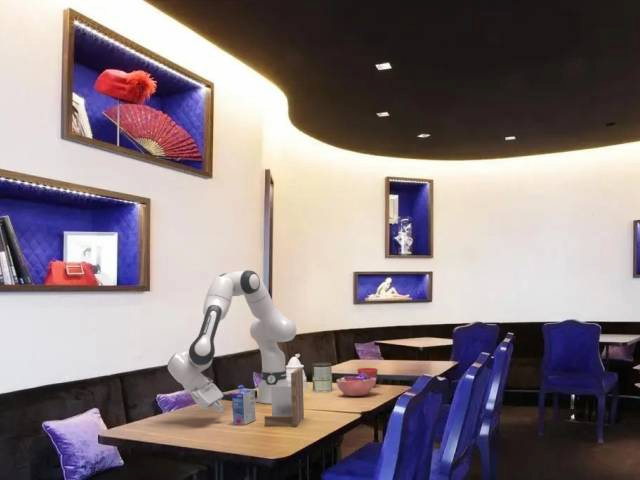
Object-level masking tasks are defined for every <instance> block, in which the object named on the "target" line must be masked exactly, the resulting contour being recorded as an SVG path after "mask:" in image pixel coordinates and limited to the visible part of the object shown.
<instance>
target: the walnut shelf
mask: <svg viewBox="0 0 640 480" xmlns="http://www.w3.org/2000/svg"><path fill="white" fill-rule="evenodd" d="M303 371H304V367H303V368H298V369H297V370H295V371H294V372H292V373H291V395H292V416H272V415H265V416H264V427H292V428H297V427H298V426H299V425H300V423H301V422H302V421H301V420H303V419H304V418H305V415H304V414H305V409H304V389H303ZM297 425H298V426H297Z"/></svg>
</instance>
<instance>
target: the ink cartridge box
mask: <svg viewBox="0 0 640 480" xmlns="http://www.w3.org/2000/svg"><path fill="white" fill-rule="evenodd" d="M237 388H238V389H239V390H240V391H238V392H236V393H233V394H232V401H231V402H232V417H233V422H232V423H233V425H238V426H239V425H240V426H245V425H247V424H250V423H251V422H255V421H257V420H256V418H257V417H256V402H255V399H256V398H255V392H254V390H255V389H253V390H245V389H246V388H245V386H244V385H242V384H240V385H238V386H237ZM244 388H245V389H244Z"/></svg>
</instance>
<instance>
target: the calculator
mask: <svg viewBox="0 0 640 480" xmlns="http://www.w3.org/2000/svg"><path fill="white" fill-rule="evenodd" d="M244 389H245V390H254V392H255V399H257V398H258V390H257V389H252V388H245V387H244ZM238 391H240V390H239V388H238V389H233V390H229V391H224V392H223V391H222V394H223V398H222V399H221V400H222V401H229V402H233V401H232V394H233V393H236V392H238ZM221 400H220V401H221Z"/></svg>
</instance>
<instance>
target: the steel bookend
mask: <svg viewBox="0 0 640 480" xmlns="http://www.w3.org/2000/svg"><path fill="white" fill-rule="evenodd" d="M271 398H272V404H271V416H292V395H291V386H279V387H271Z"/></svg>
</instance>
